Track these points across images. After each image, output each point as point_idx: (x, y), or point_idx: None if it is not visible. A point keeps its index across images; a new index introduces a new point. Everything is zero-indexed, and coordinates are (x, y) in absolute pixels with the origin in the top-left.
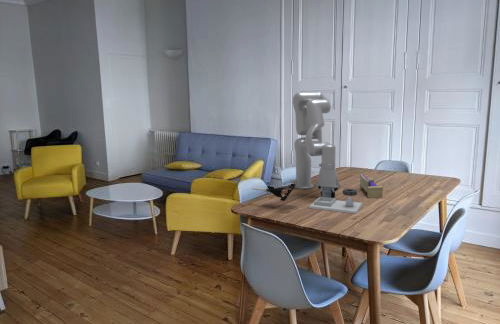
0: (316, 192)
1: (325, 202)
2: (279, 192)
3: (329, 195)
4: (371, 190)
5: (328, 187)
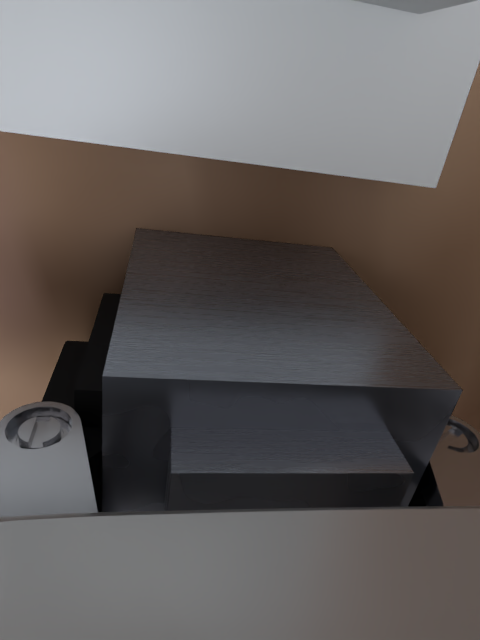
0: None
1: None
2: None
3: (170, 280)
4: None
5: None
